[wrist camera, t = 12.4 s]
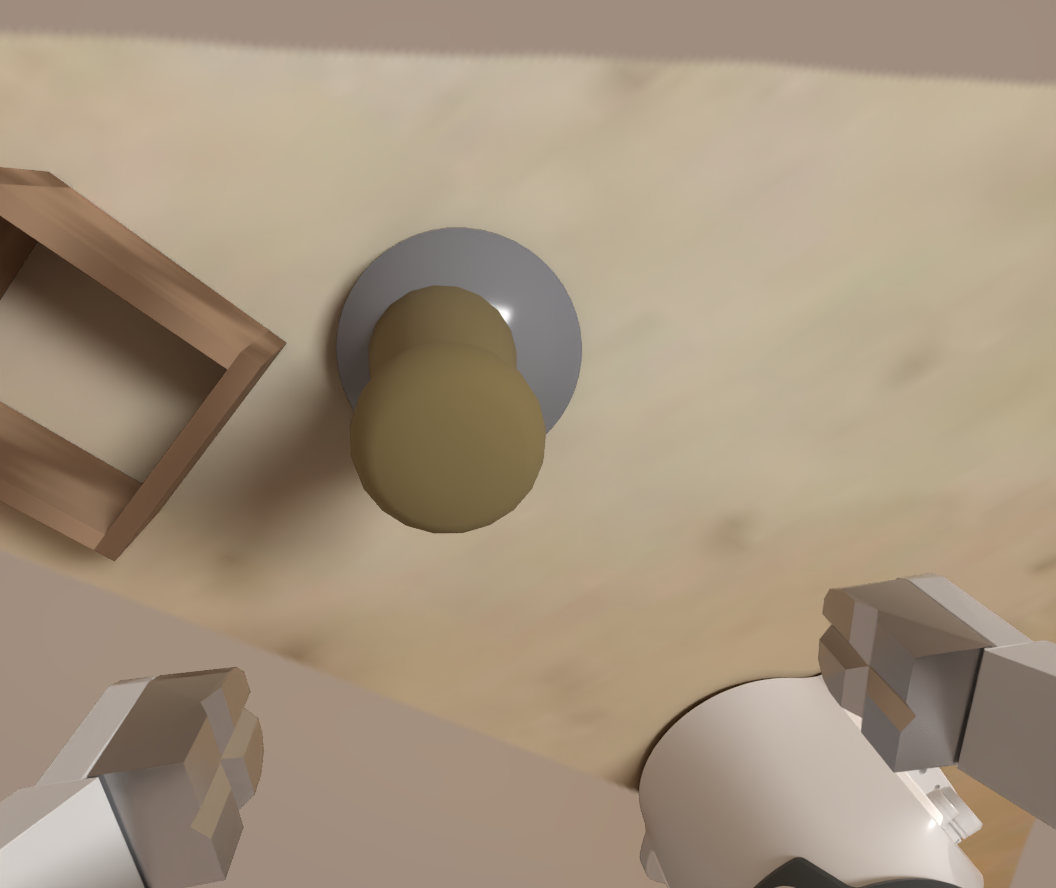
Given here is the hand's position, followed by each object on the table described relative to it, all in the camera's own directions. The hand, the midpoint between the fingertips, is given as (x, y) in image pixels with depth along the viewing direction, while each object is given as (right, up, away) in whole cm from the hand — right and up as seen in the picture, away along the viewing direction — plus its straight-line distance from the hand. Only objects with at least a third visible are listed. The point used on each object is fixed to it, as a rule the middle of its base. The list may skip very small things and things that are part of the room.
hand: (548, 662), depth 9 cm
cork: (-4, +7, +17) cm, 18 cm away
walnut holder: (-17, +6, +16) cm, 24 cm away
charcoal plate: (-3, +7, +18) cm, 19 cm away
